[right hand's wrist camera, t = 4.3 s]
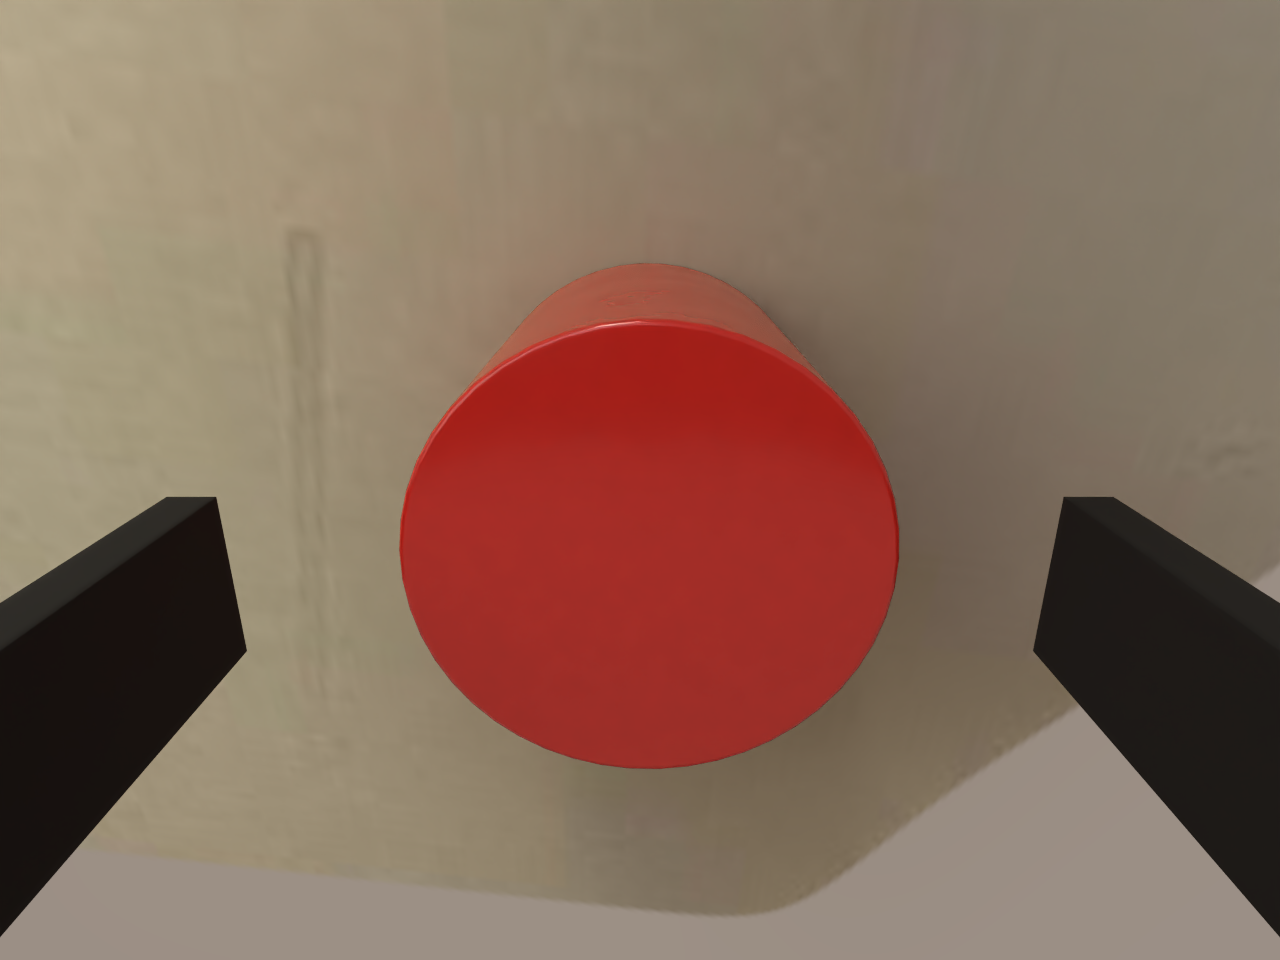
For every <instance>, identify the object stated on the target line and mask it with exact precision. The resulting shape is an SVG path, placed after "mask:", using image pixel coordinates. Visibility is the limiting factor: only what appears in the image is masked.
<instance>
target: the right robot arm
mask: <svg viewBox="0 0 1280 960" xmlns="http://www.w3.org/2000/svg"><path fill="white" fill-rule="evenodd" d="M246 651H247V649H246V644H245V639H244V634H243V629H242V624H241V619H240V614H239V609H238V604H237V599H236V594H235V589H234V584H233V579H232V574H231V569H230V564H229V559H228V554H227V549H226V544H225V539H224V534H223V529H222V524H221V519H220V514H219V509H218V504H217V499H216V497H166V498H164V499H163V500H161V501H160V502H158V503H157V504H155V505H153V506H152V507H150V508H149V509H147V510H146V511H144V512H142V513H141V514H139V515H138V516H136V517H135V518H133V519H131V520H130V521H128V522H127V523H125V524H124V525H122V526H120V527H119V528H117V529H116V530H114V531H113V532H111V533H109V534H108V535H106V536H105V537H103V538H102V539H100V540H99V541H97V542H95V543H94V544H92V545H91V546H89V547H88V548H86V549H84V550H83V551H81V552H80V553H78V554H77V555H75V556H73V557H72V558H70V559H69V560H67V561H66V562H64V563H62V564H61V565H59V566H58V567H56V568H55V569H53V570H51V571H50V572H48V573H47V574H45V575H44V576H42V577H40V578H39V579H37V580H36V581H34V582H33V583H31V584H30V585H28V586H26V587H25V588H23V589H22V590H20V591H19V592H17V593H15V594H14V595H12V596H11V597H9V598H8V599H6V600H4V601H3V602H1V603H0V937H1V935H2V934H3V933H4V932H5V931H6V930H7V928H8V927H9V926H10V925H11V924H12V923H13V922H14V920H15V919H16V918H17V917H18V916H19V915H20V913H21V912H22V911H23V910H24V909H25V908H26V906H27V905H28V904H29V903H30V902H31V901H32V899H33V898H34V897H35V896H36V895H37V894H38V893H39V891H40V890H41V889H42V888H43V887H44V886H45V884H46V883H47V882H48V881H49V880H50V879H51V877H52V876H53V875H54V874H55V873H56V872H57V871H58V869H59V868H60V867H61V866H62V865H63V863H64V862H65V861H66V860H67V859H68V858H69V857H70V855H71V854H72V853H73V852H74V851H75V850H76V848H77V847H78V846H79V845H80V844H81V843H82V842H83V840H84V839H85V838H86V837H87V836H88V835H89V833H90V832H91V831H92V830H93V829H94V828H95V826H96V825H97V824H98V823H99V822H100V821H101V819H102V818H103V817H104V816H105V815H106V814H107V813H108V811H109V810H110V809H111V808H112V807H113V806H114V804H115V803H116V802H117V801H118V800H119V799H120V797H121V796H122V795H123V794H124V793H125V792H126V791H127V789H128V788H129V787H130V786H131V785H132V784H133V782H134V781H135V780H136V779H137V778H138V777H139V775H140V774H141V773H142V772H143V771H144V770H145V768H146V767H147V766H148V765H149V764H150V763H151V762H152V760H153V759H154V758H155V757H156V756H157V755H158V753H159V752H160V751H161V750H162V749H163V748H164V746H165V745H166V744H167V743H168V742H169V741H170V739H171V738H172V737H173V736H174V735H175V734H176V733H177V731H178V730H179V729H180V728H181V727H182V726H183V724H184V723H185V722H186V721H187V720H188V719H189V717H190V716H191V715H192V714H193V713H194V712H195V711H196V709H197V708H198V707H199V706H200V705H201V704H202V702H203V701H204V700H205V699H206V698H207V697H208V695H209V694H210V693H211V692H212V691H213V690H214V688H215V687H216V686H217V685H218V684H219V683H220V682H221V680H222V679H223V678H224V677H225V676H226V675H227V673H228V672H229V671H230V670H231V669H232V668H233V666H234V665H235V664H236V663H237V662H238V661H239V659H240V658H241V657H242V656H243V655H244V654H245V653H246ZM1033 651H1034V653H1035V654H1036V655H1037V656H1038V657H1039V658H1040V659H1041V661H1042V662H1043V663H1044V664H1045V665H1046V666H1047V668H1048V669H1049V670H1050V671H1051V672H1052V673H1053V675H1054V676H1055V677H1056V678H1057V679H1058V680H1059V682H1060V683H1061V684H1062V685H1063V686H1064V687H1065V688H1066V690H1067V691H1068V692H1069V693H1070V694H1071V695H1072V697H1073V698H1074V699H1075V700H1076V701H1077V702H1078V704H1079V705H1080V706H1081V707H1082V708H1083V709H1084V711H1085V712H1086V713H1087V714H1088V715H1089V716H1090V717H1091V719H1092V720H1093V721H1094V722H1095V723H1096V724H1097V726H1098V727H1099V728H1100V729H1101V730H1102V731H1103V732H1104V734H1105V735H1106V736H1107V737H1108V738H1109V739H1110V741H1111V742H1112V743H1113V744H1114V745H1115V746H1116V748H1117V749H1118V750H1119V751H1120V752H1121V753H1122V755H1123V756H1124V757H1125V758H1126V759H1127V760H1128V762H1129V763H1130V764H1131V765H1132V766H1133V767H1134V768H1135V770H1136V771H1137V772H1138V773H1139V774H1140V775H1141V777H1142V778H1143V779H1144V780H1145V781H1146V782H1147V784H1148V785H1149V786H1150V787H1151V788H1152V789H1153V791H1154V792H1155V793H1156V794H1157V795H1158V796H1159V797H1160V799H1161V800H1162V801H1163V802H1164V803H1165V804H1166V806H1167V807H1168V808H1169V809H1170V810H1171V811H1172V813H1173V814H1174V815H1175V816H1176V817H1177V818H1178V819H1179V821H1180V822H1181V823H1182V824H1183V825H1184V826H1185V828H1186V829H1187V830H1188V831H1189V832H1190V833H1191V835H1192V836H1193V837H1194V838H1195V839H1196V840H1197V842H1198V843H1199V844H1200V845H1201V846H1202V847H1203V848H1204V850H1205V851H1206V852H1207V853H1208V854H1209V855H1210V857H1211V858H1212V859H1213V860H1214V861H1215V862H1216V864H1217V865H1218V866H1219V867H1220V868H1221V869H1222V870H1223V872H1224V873H1225V874H1226V875H1227V876H1228V877H1229V879H1230V880H1231V881H1232V882H1233V883H1234V884H1235V886H1236V887H1237V888H1238V889H1239V890H1240V891H1241V893H1242V894H1243V895H1244V896H1245V897H1246V898H1247V899H1248V901H1249V902H1250V903H1251V904H1252V905H1253V906H1254V908H1255V909H1256V910H1257V911H1258V912H1259V913H1260V915H1261V916H1262V917H1263V918H1264V919H1265V920H1266V922H1267V923H1268V924H1269V925H1270V926H1271V927H1272V928H1273V930H1274V931H1275V932H1276V933H1277V934H1278V935H1279V937H1280V603H1279V602H1277V601H1275V600H1274V599H1272V598H1271V597H1269V596H1268V595H1266V594H1265V593H1263V592H1261V591H1260V590H1258V589H1257V588H1255V587H1254V586H1252V585H1250V584H1249V583H1247V582H1246V581H1244V580H1243V579H1241V578H1240V577H1238V576H1236V575H1235V574H1233V573H1232V572H1230V571H1229V570H1227V569H1225V568H1224V567H1222V566H1221V565H1219V564H1218V563H1216V562H1214V561H1213V560H1211V559H1210V558H1208V557H1207V556H1205V555H1203V554H1202V553H1200V552H1199V551H1197V550H1196V549H1194V548H1192V547H1191V546H1189V545H1188V544H1186V543H1185V542H1183V541H1181V540H1180V539H1178V538H1177V537H1175V536H1174V535H1172V534H1171V533H1169V532H1167V531H1166V530H1164V529H1163V528H1161V527H1160V526H1158V525H1156V524H1155V523H1153V522H1152V521H1150V520H1149V519H1147V518H1145V517H1144V516H1142V515H1141V514H1139V513H1138V512H1136V511H1134V510H1133V509H1131V508H1130V507H1128V506H1127V505H1125V504H1123V503H1122V502H1120V501H1119V500H1117V499H1116V498H1114V497H1064V499H1063V504H1062V509H1061V514H1060V519H1059V524H1058V529H1057V534H1056V539H1055V544H1054V549H1053V554H1052V559H1051V564H1050V569H1049V574H1048V579H1047V584H1046V589H1045V594H1044V599H1043V604H1042V609H1041V614H1040V619H1039V624H1038V629H1037V634H1036V639H1035V644H1034V649H1033Z"/></svg>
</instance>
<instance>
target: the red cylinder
mask: <svg viewBox="0 0 1280 960" xmlns="http://www.w3.org/2000/svg"><path fill="white" fill-rule="evenodd" d="M399 552H400V561H401V571H402V579H403V583H404V587H405V591H406V595H407V599H408V603H409V607H410V610H411V612H412V615H413V617H414V620H415V622H416V625H417V627H418V630H419V632H420V635H421V637H422V638H423V640H424V642H425V643H426V645H427V647H428V649H429V650H430V652H431V654H432V656H433V657H434V659H435V661H436V662H437V663H438V665H439V666H440V667H441V669H442V670H443V671H444V672H445V674H446V675H447V676H448V678H449V679H450V680H451V682H452V683H453V684H454V685H455V686H456V687H457V688H458V689H459V690H460V691H461V692H462V693H463V694H464V695H465V696H466V697H467V698H468V699H469V700H470V701H471V702H472V703H473V704H474V705H475V706H477V707H478V708H479V709H480V710H482V711H483V712H484V713H485V714H487V715H488V716H489V717H490V718H492V719H493V720H494V721H496V722H497V723H499V724H500V725H502V726H504V727H505V728H507V729H508V730H510V731H512V732H513V733H515V734H516V735H518V736H520V737H522V738H524V739H526V740H528V741H530V742H532V743H534V744H536V745H539V746H541V747H543V748H545V749H548V750H550V751H553V752H556V753H559V754H562V755H565V756H568V757H571V758H574V759H578V760H582V761H587V762H591V763H595V764H600V765H607V766H615V767H623V768H640V769H663V768H674V767H686V766H692V765H697V764H702V763H707V762H713V761H717V760H720V759H724V758H727V757H730V756H733V755H737V754H740V753H743V752H746V751H748V750H750V749H753V748H755V747H757V746H760V745H762V744H764V743H767V742H769V741H771V740H773V739H775V738H776V737H778V736H780V735H782V734H783V733H785V732H787V731H789V730H790V729H792V728H794V727H796V726H797V725H798V724H800V723H801V722H802V721H804V720H805V719H807V718H808V717H809V716H811V715H812V714H813V713H815V712H816V711H817V710H819V709H820V708H821V707H822V706H823V705H824V704H825V703H826V702H827V701H828V700H829V699H831V698H832V697H833V696H834V695H835V694H836V693H837V692H838V691H839V690H840V689H841V688H842V687H843V685H844V684H845V683H846V682H847V681H848V679H849V678H850V677H851V676H852V675H853V673H854V672H855V671H856V670H857V669H858V667H859V666H860V664H861V663H862V661H863V659H864V658H865V656H866V655H867V653H868V652H869V650H870V648H871V647H872V645H873V644H874V642H875V640H876V637H877V635H878V633H879V631H880V629H881V627H882V624H883V622H884V620H885V618H886V615H887V612H888V608H889V605H890V602H891V598H892V595H893V592H894V588H895V582H896V576H897V569H898V562H899V524H898V517H897V510H896V503H895V497H894V494H893V491H892V487H891V484H890V481H889V478H888V474H887V471H886V468H885V466H884V464H883V462H882V460H881V458H880V456H879V453H878V451H877V449H876V447H875V445H874V443H873V441H872V439H871V438H870V436H869V435H868V433H867V432H866V430H865V429H864V427H863V426H862V424H861V423H860V421H859V420H858V418H857V417H856V415H855V414H854V413H853V412H852V410H851V409H850V408H849V407H848V406H847V405H846V404H845V403H844V401H843V400H842V399H841V398H840V397H839V396H838V395H837V394H836V392H835V391H834V390H833V389H832V388H831V387H830V386H829V385H828V383H827V382H826V381H825V380H824V379H823V378H822V377H821V376H820V374H819V373H818V372H817V371H816V370H815V369H814V368H813V367H812V365H811V364H810V363H809V362H808V361H807V360H806V359H805V358H804V356H803V355H802V354H801V353H800V352H799V351H798V350H797V349H796V347H795V346H794V345H793V344H792V343H791V342H790V341H789V340H788V338H787V337H786V336H785V335H784V334H783V333H782V332H781V331H780V329H779V328H778V327H777V326H776V325H775V324H774V323H773V322H772V321H771V319H770V318H769V317H768V316H767V315H766V314H765V313H764V312H763V311H762V309H761V308H760V307H758V306H757V305H756V304H755V303H754V302H752V301H751V300H750V299H749V298H748V297H747V296H745V295H744V294H743V293H741V292H739V291H738V290H736V289H735V288H733V287H732V286H730V285H728V284H727V283H725V282H723V281H721V280H719V279H716V278H714V277H712V276H710V275H707V274H705V273H702V272H698V271H695V270H692V269H688V268H685V267H679V266H673V265H666V264H644V263H639V264H631V265H622V266H616V267H612V268H608V269H604V270H600V271H597V272H594V273H591V274H589V275H587V276H584V277H582V278H579V279H577V280H575V281H573V282H571V283H570V284H568V285H566V286H564V287H563V288H561V289H559V290H557V291H556V292H555V293H553V294H552V295H551V296H550V297H548V298H547V299H546V300H544V301H543V302H542V303H541V304H539V305H538V306H537V308H536V309H535V310H534V311H533V312H532V313H531V314H530V315H529V316H528V317H527V318H526V319H525V320H524V321H523V322H522V323H521V325H520V326H519V327H518V328H517V329H516V330H515V332H514V333H513V334H512V335H511V336H510V338H509V339H508V340H507V341H506V342H505V343H504V345H503V346H502V347H501V348H500V349H499V350H498V352H497V353H496V354H495V355H494V356H493V357H492V359H491V360H490V361H489V362H488V363H487V365H486V366H485V367H484V368H483V369H482V370H481V372H480V373H479V374H478V375H477V376H476V377H475V379H474V380H473V381H472V382H471V383H470V384H469V386H468V387H467V388H466V389H465V390H464V392H463V393H462V394H461V395H460V396H459V397H458V399H457V400H456V401H455V402H454V403H453V404H452V406H451V407H450V408H449V410H448V411H447V412H446V414H445V415H444V416H443V418H442V419H441V420H440V422H439V423H438V425H437V426H436V427H435V429H434V430H433V431H432V433H431V434H430V436H429V438H428V440H427V442H426V444H425V446H424V448H423V450H422V452H421V453H420V455H419V457H418V459H417V461H416V464H415V467H414V470H413V472H412V475H411V478H410V481H409V484H408V487H407V489H406V494H405V499H404V504H403V510H402V515H401V521H400V545H399Z"/></svg>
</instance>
